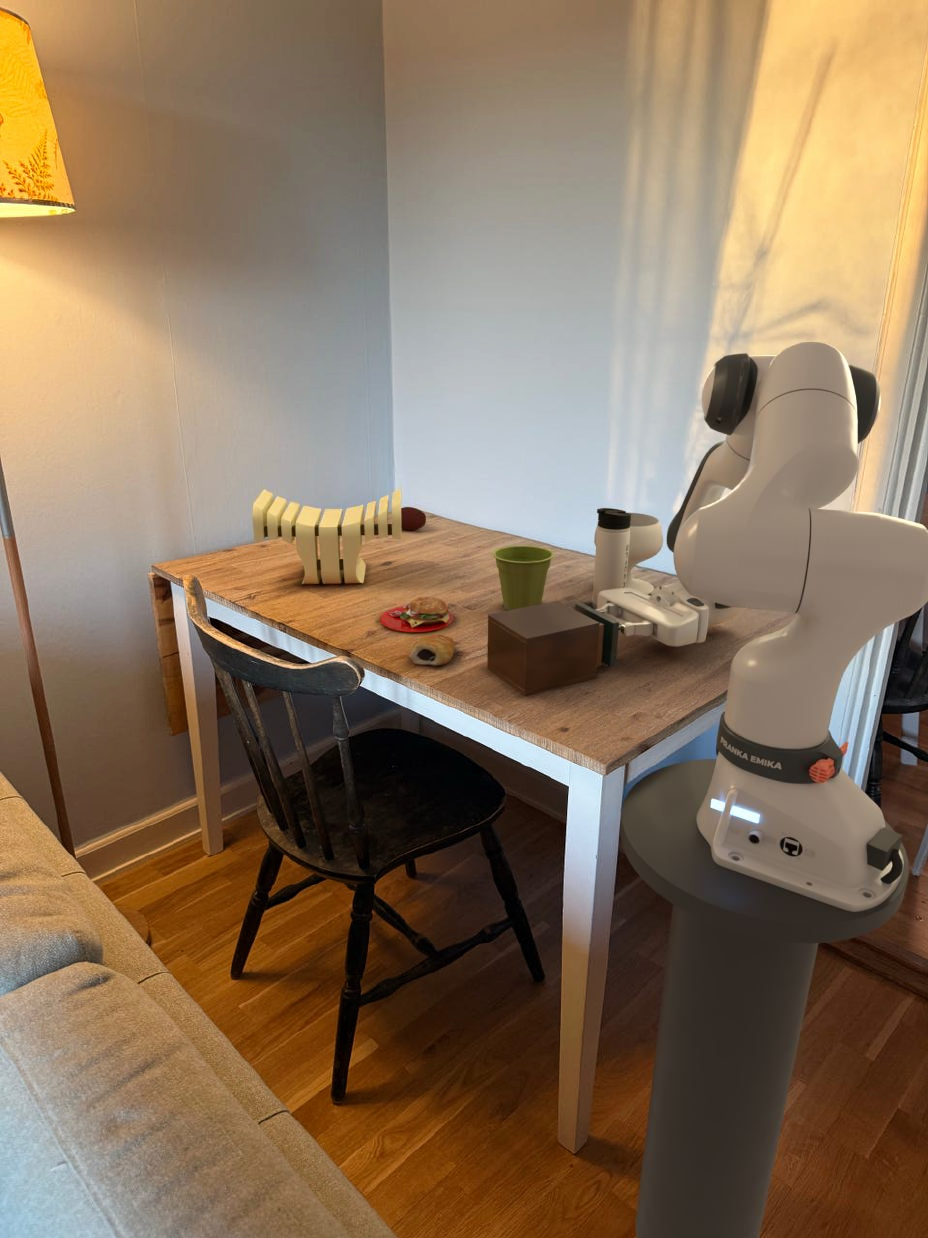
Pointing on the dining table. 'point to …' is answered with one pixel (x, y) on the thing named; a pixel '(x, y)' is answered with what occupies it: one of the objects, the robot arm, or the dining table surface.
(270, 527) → the slatted curved stool
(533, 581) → the plant pot
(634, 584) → the chalice
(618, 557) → the travel mug
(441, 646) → the pastry
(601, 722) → the dining table surface
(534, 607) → the cabinet
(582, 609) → the drawer
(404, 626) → the hamburger
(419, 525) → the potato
